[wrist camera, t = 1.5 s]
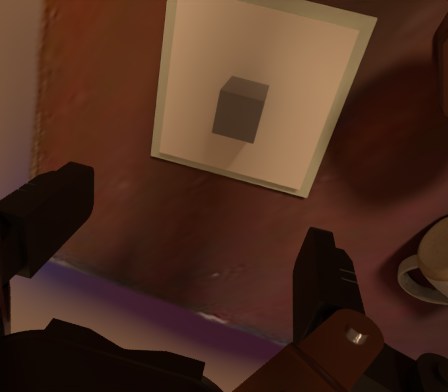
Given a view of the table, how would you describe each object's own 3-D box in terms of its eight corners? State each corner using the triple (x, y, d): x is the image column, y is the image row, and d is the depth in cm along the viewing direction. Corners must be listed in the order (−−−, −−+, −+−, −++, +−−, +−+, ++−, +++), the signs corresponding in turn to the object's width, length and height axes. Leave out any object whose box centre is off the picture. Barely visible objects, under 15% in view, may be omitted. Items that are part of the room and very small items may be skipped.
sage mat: (173, -32, 25) (170, -33, 24) (375, 17, 24) (377, 18, 24) (153, 153, 33) (150, 155, 32) (306, 194, 32) (306, 198, 31)
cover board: (182, -14, 25) (154, -17, 20) (357, 30, 24) (374, 37, 19) (162, 148, 32) (137, 176, 27) (299, 185, 31) (300, 220, 26)
